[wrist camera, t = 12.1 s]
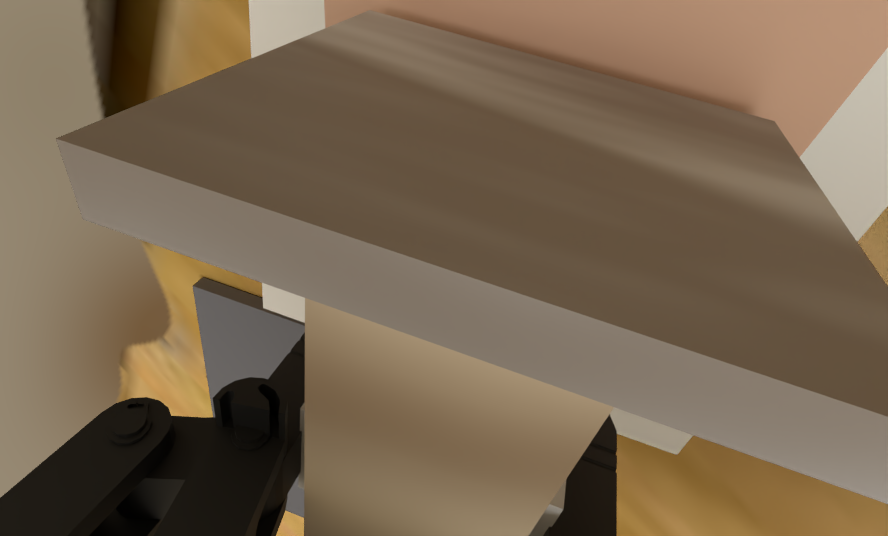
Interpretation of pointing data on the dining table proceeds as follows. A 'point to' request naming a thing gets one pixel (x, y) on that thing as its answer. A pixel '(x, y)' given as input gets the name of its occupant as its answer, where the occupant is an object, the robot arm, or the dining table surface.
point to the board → (827, 158)
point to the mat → (243, 344)
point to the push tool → (506, 268)
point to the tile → (683, 46)
